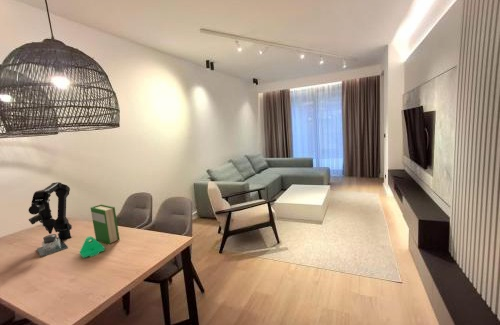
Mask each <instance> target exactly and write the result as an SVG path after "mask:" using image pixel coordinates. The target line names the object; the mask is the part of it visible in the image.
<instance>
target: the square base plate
mask: <svg viewBox="0 0 500 325" xmlns="http://www.w3.org/2000/svg"><path fill="white" fill-rule="evenodd" d="M41 245H42V246H40V247H37V248H36V251H37V252H38V255H39V256H40V258H43V257H46V256H48V255H52V254H54V253H57V252H60V251H62V250H67V249H69V246H68V245H67V244H66V243H65V242H64V240H62V241H61V240H60V239H59V238H58V237H57V240H55V241H53V242H49V243H44V240H43V241H42V242H41Z"/></svg>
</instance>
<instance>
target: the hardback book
mask: <svg viewBox="0 0 500 325" xmlns="http://www.w3.org/2000/svg"><path fill="white" fill-rule="evenodd" d="M90 212H91V218H92V224H93V230H94V237H95V240H98V242H99V243H103V244H105V243H106V245H108V244H110V245H111V244H112V243H114V242H116V241H118V240H119V241H120V233H119V227H118V220H117V214H116V208H115V206H111V205H106V204H99V205H98V204H97V205H95V206H91V207H90Z"/></svg>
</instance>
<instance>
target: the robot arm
mask: <svg viewBox="0 0 500 325" xmlns="http://www.w3.org/2000/svg"><path fill="white" fill-rule="evenodd" d="M70 191H71V188H70V186H69V185H67V184H64V183H62V182H59V181H58V182H52V183H51V184H49V185H48V186H47V187H45V188H43V189H41V190H36V191H35V192H34V193H33V196H32V199H31V206H29V208H28V213H29V214H31V215H33V216H32V217H30V218H29V219H28V221H29V223H30V224H31V225H34V224H35V225H36V223H38V222H39V223H40V224H41V225H42V227H44V228H45V231H47V232H48V235H51V234H53V233H52V232H53V231H54V232H55V233H57V238H59V239H60V241H65V240H67V239H68V240H69V239H71V238H72V236H71V230H72V229H73V225H72V224H71V223H69V221H70V220H69V219H68V218H67V198H68V196H69V195H70ZM53 193H55V196H56V197H57V217H56V219H54V218H53V215H52V210H51V206H50V201H51V199H50V197H51V194H53Z"/></svg>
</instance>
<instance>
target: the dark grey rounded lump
mask: <svg viewBox="0 0 500 325" xmlns="http://www.w3.org/2000/svg"><path fill="white" fill-rule="evenodd" d="M57 238H58V235H57V234H56V233H51V234H48V235H45V236H43V241H44V243H49V242H53V241H55V240H57Z"/></svg>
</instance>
